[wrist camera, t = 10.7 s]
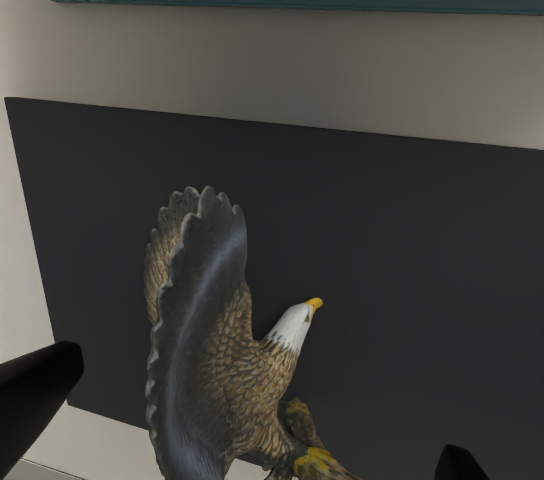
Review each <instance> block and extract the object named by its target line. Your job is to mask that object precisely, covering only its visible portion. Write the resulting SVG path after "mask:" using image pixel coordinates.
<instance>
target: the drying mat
mask: <svg viewBox="0 0 544 480" xmlns="http://www.w3.org/2000/svg"><path fill="white" fill-rule="evenodd" d="M4 100H5V105H6V110H7V114H8V119H9V124H10V129H11V134H12V139H13V143H14V148H15V153H16V158H17V163H18V167H19V172H20V177H21V182H22V187H23V191H24V196H25V201H26V206H27V211H28V216H29V220H30V225H31V230H32V235H33V240H34V244H35V249H36V254H37V259H38V264H39V268H40V273H41V278H42V283H43V288H44V292H45V297H46V302H47V307H48V312H49V317H50V321H51V326H52V331H53V336H54V341H55V343H58V342H61V341H71V342H74V343H78V344H79V345H80V346H81V350H82V355H83V361H84V373H83V375H82V377H81V379H80V380H79V382H78V383H77V384H76V386H75V387H74V389H73V390H72V391H71V393H70V394H69V396H68V397H67V403H68V405H70V406H73V407H76V408H79V409H82V410H86V411H89V412H92V413H95V414H98V415H101V416H105V417H108V418H111V419H114V420H117V421H120V422H123V423H127V424H130V425H133V426H136V427H139V428H142V429H145V430H149V426H148V424H147V422H146V408H147V404H148V400H147V398H146V397H145V386H146V383H147V381H148V372H147V360H148V357H149V355H150V352H151V345H152V342H151V338H150V335H151V329H152V327H153V325H152V324H151V322H150V321H149V318H148V311H147V301H146V298H145V296H144V292H143V288H144V287H145V283H144V279H143V272H144V270H145V265H144V258H145V256H146V251H145V248H146V247H147V245H148V244H150V243H151V239H150V232H151V231H152V229H153V228H155V229H157V230H158V222H157V218H158V213H159V210H160V208H162V207H166V208H167V207H168V205H169V200H170V196H171V195H172V194H173V193H174V192H176V191H178V192H181V193H184V190H185V188H186V187H193V188H195V189H196V190H197V191H198V193H199V194H201V193H202V191H203V190H204V188H205V187H206V186H211V187H213V189H214V191H215V194H216V195H217V196H218V194H219V193H220V192H224V193H225V194H226V195H227V197H228V199H229V202H230V204H231V206H232V207H233V206H234V205H238V206H239V207H240V208H241V209H242V211H243V214H244V217H245V222H246V228H247V260H246V266H245V279H246V282H247V285H248V287H249V290H250V294H251V300H252V312H251V328H252V329H251V331H252V337H253V340H255V341H260V340H262V339H263V338H264V337H265V336H266V335H267V334H268V333H269V332H270V331H271V330H272V329H273V327H274V326H275V325H276V324H277V322H278V321H279V319H280V318H281V317H282V315H283V314H284V313H285V312H286V311H287V310H288V309H289V308H290V307H292V306H294V305H297V304H301V303H304V302H306V301H308V300H310V299H312V298H320V299H321V300H322V302H323V304H322V305H321V306H320V307H318V308H317V309H316V310H315V312H314V314H313V316H312V320H311V324H310V327H309V329H308V331H307V333H306V336H305V339H304V342H303V344H302V347H301V350H300V354H299V357H298V360H297V362H296V368H295V370H294V373H293V376H292V378H291V381H290V383H289V385H288V387H287V389H286V391H285V393H284V394H283V395H282V397H281V398H280V399H283V400H286V401H291V400H292V398H293V397H298V398H299V400H300V401H301V402H302V403H305V404H306V405H307V407H308V411H309V412H310V413H311V414H312V417H313V424H314V426H315V433H316V435H317V436H318V438H319V439H320V440H321V442H322V444H323V445H324V447H325V448H326V450H327V451H329V453H330V454H331V455H332V456H333V457H334V458H335V459H336V461H338V462H339V463H341V464H342V465H343V466H344V468H345V469H346V470H347V471H348V472H349V473H351V474H353V475H355V476H357V477H359V478H361V479H362V480H434V475H435V469H436V466H437V464H438V461H439V458H440V456H441V453H442V451H443V448H444V446H445V445H447V444H451V445H455V446H459V447H462V448H465V449H467V450H468V451H469V452H470V453H471V454H472V455H473V457H474V458H475V459H476V461H477V462H478V463H479V465H480V466H481V468H482V469H483V470H484V472H485V473H486V474H487V476H488V477H489V479H490V480H544V150H538V149H528V148H518V147H508V146H498V145H488V144H478V143H468V142H458V141H448V140H438V139H428V138H417V137H407V136H397V135H387V134H377V133H367V132H357V131H347V130H337V129H327V128H317V127H307V126H297V125H287V124H277V123H267V122H257V121H247V120H237V119H227V118H217V117H207V116H197V115H187V114H177V113H167V112H157V111H147V110H137V109H127V108H117V107H107V106H97V105H87V104H77V103H67V102H57V101H47V100H37V99H27V98H17V97H5V98H4ZM279 423H280V424H281V426H282V428H283V430H284V431H286V428H285V426H284V424H283V422H282V421H281V422H279ZM235 458H237V459H240V460H243V461H246V462H249V463H252V464H256V465H259V466H262V467H263V464H264V461H263V460H261V459H259V458H257V457H254V456H252V455H249V454H248V453H244V454H241V455H238V456H236V457H235ZM271 470H272V469H271ZM293 477H297V478H298V475H297V474H296V473H295V472H294V474H293Z"/></svg>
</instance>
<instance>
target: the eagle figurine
mask: <svg viewBox="0 0 544 480" xmlns="http://www.w3.org/2000/svg"><path fill="white" fill-rule="evenodd" d="M157 222H158V230H157V229H155V228H153V229H152V231H151V232H150V239H151V243H150V244H148V245H147V247H146V248H145V251H146V256H145V258H144V265H145V270H144V272H143V279H144V283H145V287H144V288H143V292H144V296H145V298H146V301H147V311H148V318H149V321H150V322H151V324H152V325H153V327H152V329H151V335H150V338H151V342H152V345H151V352H150V355H149V357H148V360H147V372H148V381H147V383H146V386H145V397H146V398H147V400H148V404H147V408H146V422H147V424H148V426H149V437H150V440H151V442H152V445H153V447H154V450H155V454H156V462H157V464H158V465H159V469H160V471H161V473H162V475H163V476H164V477H165V480H224V478H225V476H226V474H227V472H228V470H229V467H230V465H231V463H232V462H233V460H234V459H235V457H236V456H238V455H241V454H244V453H248V454H249V455H252V456H254V457H257V458H259V459H261V460H263V461H264V464H263V467H262V469H263V470H264V471H268V470H270V469H272V470H271V472H270V474H269V475H268V476H267V477H266V478H265V479H264V480H292V477H293V474H294V472H295V473H296V474H297V475H298V480H362V479H361V478H359V477H357V476H355V475H353V474H351V473H349V472H348V471H347V470H346V469H345V468H344V466H343V465H342V464H341V463H339V462H338V461H336V459H335V458H334V457H333V456H332V455H331V454H330V453H329V451H327V450H326V448H325V447H324V445H323V444H322V442H321V440H320V439H319V438H318V436H317V435H316V433H315V426H314V424H313V417H312V414H311V413H310V412H309V411H308V407H307V405H306V404H305V403H302V402H301V401H300V400H299V398H298V397H293V398H292V400H291V401H286V400H283V399H280V398H281V397H282V395H283V394H284V393H285V391H286V389H287V387H288V385H289V383H290V381H291V378H292V376H293V373H294V370H295V368H296V362H297V360H298V357H299V354H300V350H301V347H302V344H303V342H304V339H305V336H306V333H307V331H308V329H309V327H310V324H311V320H312V316H313V314H314V312H315V310H316V309H317V308H318V307H320V306H321V305H322V304H323V302H322V300H321V299H320V298H312V299H310V300H308V301H306V302H304V303H301V304H297V305H294V306H292V307H290V308H289V309H288V310H287V311H286V312H285V313H284V314H283V315H282V317H281V318H280V319H279V321H278V322H277V324H276V325H275V326H274V327H273V329H272V330H271V331H270V332H269V333H268V334H267V335H266V336H265V337H264V338H263V339H262V340H260V341H255V340H253V337H252V331H251V329H252V328H251V312H252V300H251V294H250V290H249V287H248V285H247V282H246V279H245V266H246V260H247V228H246V222H245V217H244V214H243V211H242V209H241V208H240V207H239V206H238V205H234V206H233V207H232V206H231V204H230V202H229V199H228V197H227V195H226V194H225V193H224V192H220V193H219V194H218V196H217V195H216V194H215V191H214V189H213V187H211V186H206V187H205V188H204V190H203V191H202V193H201V194H199V193H198V191H197V190H196V189H195V188H193V187H186V188H185V190H184V193H181V192H178V191H176V192H174V193H173V194H172V195H171V196H170V200H169V205H168V207H167V208H166V207H162V208H160V210H159V213H158V218H157ZM281 421H282V422H283V424H284V426H285V428H286V431H284V430H283V428H282V426H281V424H280V423H279V422H281Z"/></svg>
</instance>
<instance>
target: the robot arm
mask: <svg viewBox="0 0 544 480" xmlns="http://www.w3.org/2000/svg"><path fill="white" fill-rule="evenodd" d="M83 373H84V361H83V355H82V350H81V346H80V345H79V344H78V343H74V342H71V341H61V342H58V343H55V344H53V345H50V346H47V347H45V348H42V349H39V350H36V351H34V352H31V353H28V354H26V355H23V356H20V357H18V358H15V359H12V360H10V361H7V362H4V363H2V364H0V480H3V479H4V478H5V477H6V475H7V474H8V473H9V472H10V471H11V469H12V468H13V467H14V466H15V465H16V463H17V462H18V461H19V460H20V459H21V457H22V456H23V455H24V454H25V453H26V451H27V450H28V449H29V448H30V447H31V445H32V444H33V443H34V442H35V441H36V439H37V438H38V437H39V436H40V434H41V433H42V432H43V431H44V429H45V428H46V427H47V425H48V424H49V423H50V421H51V420H52V418H53V417H54V416H55V414H56V413H57V411H58V410H59V408H60V407H61V406H62V404H63V403H64V401H65V400H66V399H67V397H68V396H69V394H70V393H71V391H72V390H73V389H74V387H75V386H76V384H77V383H78V382H79V380H80V379H81V377H82V375H83ZM434 480H490V479H489V477H488V476H487V474H486V473H485V472H484V470H483V469H482V468H481V466H480V465H479V463H478V462H477V461H476V459H475V458H474V457H473V455H472V454H471V453H470V452H469V451H468V450H467V449H465V448H462V447H459V446H455V445H451V444H447V445H445V446H444V448H443V451H442V453H441V456H440V458H439V461H438V464H437V466H436V469H435V475H434Z"/></svg>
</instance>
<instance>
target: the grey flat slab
mask: <svg viewBox="0 0 544 480" xmlns="http://www.w3.org/2000/svg"><path fill="white" fill-rule="evenodd" d="M3 480H82V479H79V478H76V477H73V476H70V475H67V474H65V473H62V472H59V471H56V470H53V469H50V468H47V467H44V466H41V465H38V464H35V463H32V462H29V461H26V460H23V459H20V460H19V461H18V462H17V463H16V465H15V466H14V467H13V468H12V469H11V471H10V472H9V473H8V474H7V475H6V477H5V478H4V479H3Z"/></svg>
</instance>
